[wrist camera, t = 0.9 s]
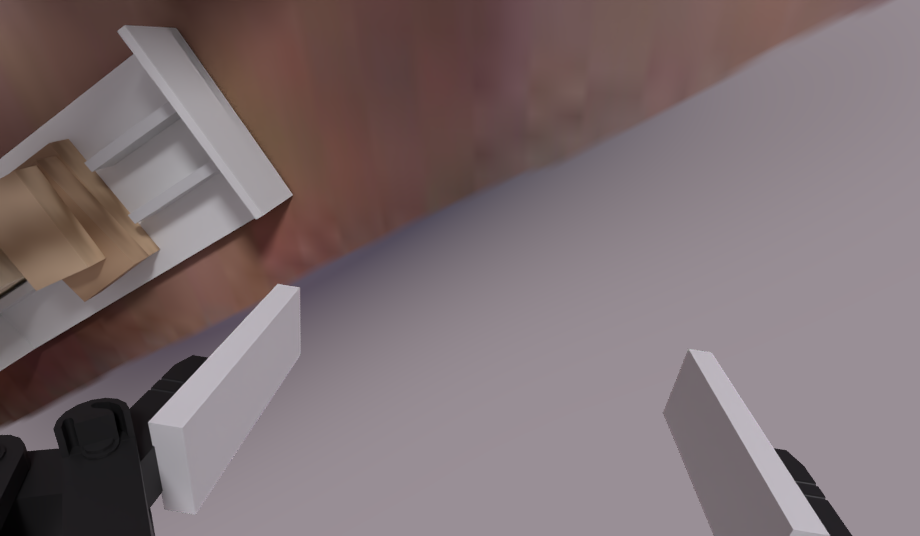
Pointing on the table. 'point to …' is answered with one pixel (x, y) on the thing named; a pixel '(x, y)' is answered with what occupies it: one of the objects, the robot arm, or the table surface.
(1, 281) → the tan wooden block
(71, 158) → the offcut bottom
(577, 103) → the table surface
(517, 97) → the table surface
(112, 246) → the offcut middle
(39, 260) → the offcut top
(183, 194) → the rack
